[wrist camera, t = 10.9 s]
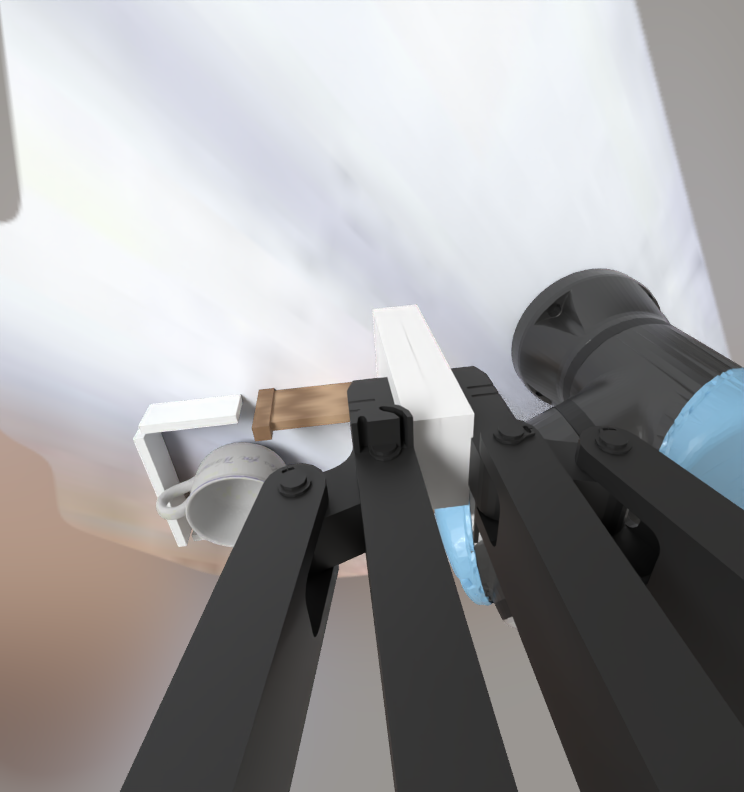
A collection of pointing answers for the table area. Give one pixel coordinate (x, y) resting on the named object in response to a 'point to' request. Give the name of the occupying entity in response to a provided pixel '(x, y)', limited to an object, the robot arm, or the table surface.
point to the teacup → (222, 491)
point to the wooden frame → (299, 408)
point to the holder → (156, 451)
